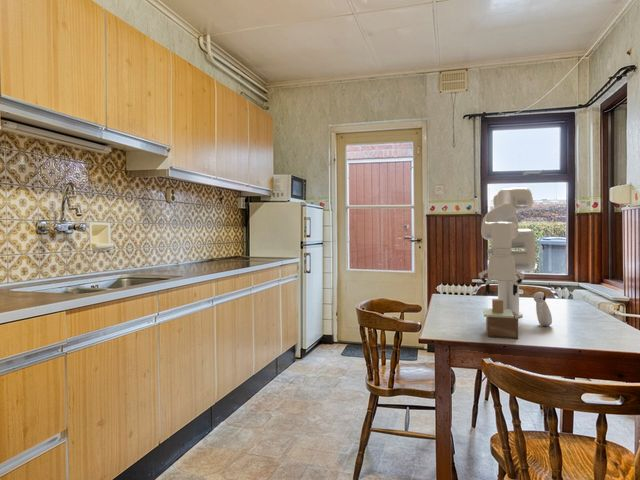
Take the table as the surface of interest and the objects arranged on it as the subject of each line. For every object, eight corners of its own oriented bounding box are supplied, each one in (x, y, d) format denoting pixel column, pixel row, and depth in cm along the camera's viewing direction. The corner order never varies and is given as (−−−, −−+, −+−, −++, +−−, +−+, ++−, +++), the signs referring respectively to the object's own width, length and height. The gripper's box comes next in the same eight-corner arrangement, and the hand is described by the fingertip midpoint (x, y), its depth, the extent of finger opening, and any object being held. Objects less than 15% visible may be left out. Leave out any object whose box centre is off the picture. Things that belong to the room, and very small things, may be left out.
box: (486, 329, 183) (486, 310, 183) (514, 330, 180) (514, 311, 179) (487, 337, 170) (487, 317, 170) (518, 339, 166) (518, 318, 166)
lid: (483, 310, 184) (483, 296, 184) (510, 311, 180) (510, 297, 180) (483, 316, 171) (483, 302, 171) (513, 318, 167) (513, 303, 167)
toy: (555, 329, 182) (555, 293, 181) (537, 328, 183) (537, 293, 183) (547, 323, 193) (547, 290, 192) (530, 322, 194) (530, 289, 194)
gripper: (478, 252, 173) (478, 294, 173) (525, 253, 167) (525, 296, 168) (478, 252, 180) (478, 292, 180) (523, 252, 175) (523, 294, 175)
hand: (501, 294), depth 174 cm, fingers open, 9 cm apart
